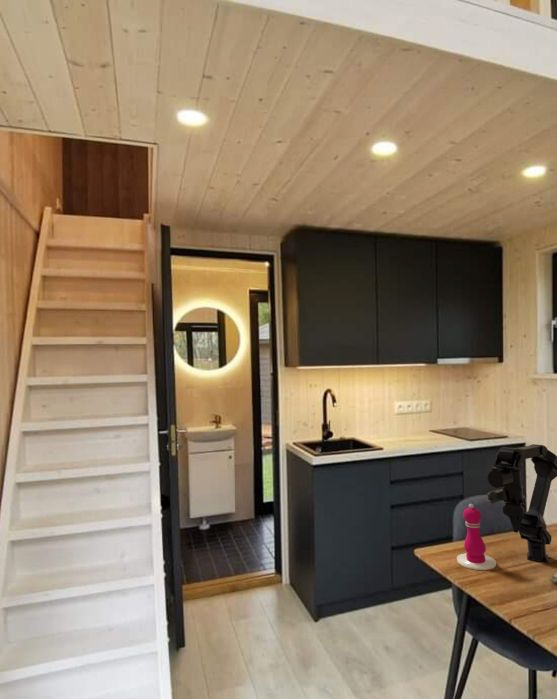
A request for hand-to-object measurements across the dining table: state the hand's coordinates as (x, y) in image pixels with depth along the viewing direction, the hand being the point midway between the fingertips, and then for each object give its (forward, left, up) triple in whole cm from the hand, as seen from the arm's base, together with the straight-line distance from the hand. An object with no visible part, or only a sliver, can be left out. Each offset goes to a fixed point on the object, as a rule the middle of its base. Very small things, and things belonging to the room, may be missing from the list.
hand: (516, 528), depth 152 cm
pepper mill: (+3, -14, -12) cm, 19 cm away
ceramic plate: (+3, -14, -13) cm, 19 cm away
